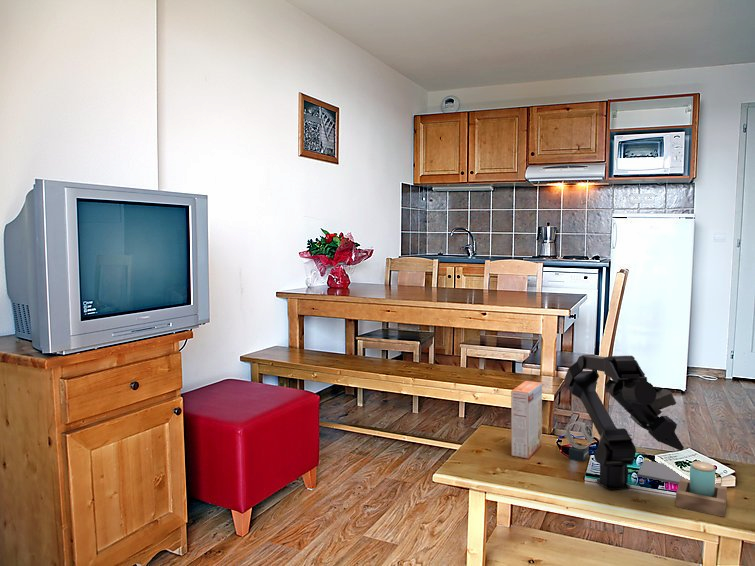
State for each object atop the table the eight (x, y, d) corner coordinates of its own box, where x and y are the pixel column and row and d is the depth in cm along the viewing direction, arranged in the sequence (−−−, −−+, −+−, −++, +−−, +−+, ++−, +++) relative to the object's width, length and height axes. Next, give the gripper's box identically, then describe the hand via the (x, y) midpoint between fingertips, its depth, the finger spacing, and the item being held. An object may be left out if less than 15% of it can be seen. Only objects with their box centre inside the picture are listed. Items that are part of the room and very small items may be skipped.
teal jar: (700, 509, 147) (701, 470, 146) (683, 499, 153) (685, 461, 152) (719, 507, 149) (721, 468, 148) (702, 497, 154) (704, 459, 153)
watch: (589, 463, 177) (590, 427, 176) (562, 457, 182) (563, 422, 181) (595, 457, 182) (595, 422, 181) (568, 452, 186) (569, 417, 185)
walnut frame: (675, 506, 149) (676, 492, 149) (680, 490, 158) (680, 478, 158) (724, 516, 143) (725, 502, 143) (726, 500, 152) (726, 486, 152)
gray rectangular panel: (721, 477, 166) (721, 474, 166) (719, 493, 156) (719, 489, 156) (644, 463, 177) (644, 460, 177) (637, 477, 167) (637, 473, 167)
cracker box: (524, 442, 195) (524, 379, 193) (542, 445, 192) (543, 382, 190) (509, 456, 183) (510, 389, 182) (528, 459, 180) (529, 392, 178)
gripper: (668, 387, 145) (715, 433, 144) (643, 372, 164) (684, 413, 163) (634, 418, 146) (680, 464, 146) (612, 400, 165) (653, 440, 164)
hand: (675, 443), depth 155 cm, fingers open, 9 cm apart
